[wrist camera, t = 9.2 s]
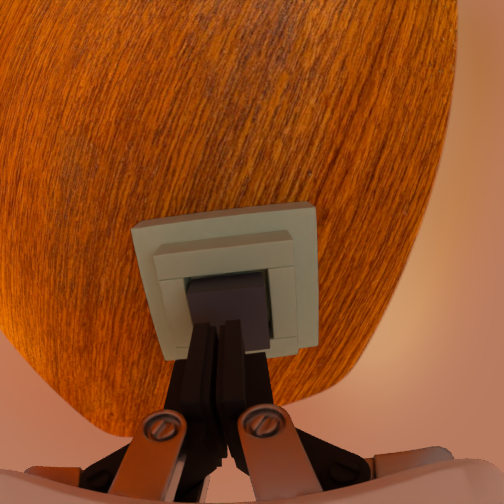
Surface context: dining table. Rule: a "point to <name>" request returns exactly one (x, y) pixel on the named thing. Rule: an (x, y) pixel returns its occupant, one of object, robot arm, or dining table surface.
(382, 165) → the dining table surface
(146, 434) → the robot arm
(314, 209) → the beige stepped square frame
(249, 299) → the key
